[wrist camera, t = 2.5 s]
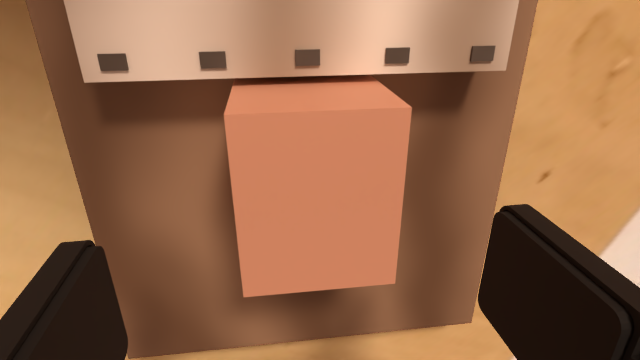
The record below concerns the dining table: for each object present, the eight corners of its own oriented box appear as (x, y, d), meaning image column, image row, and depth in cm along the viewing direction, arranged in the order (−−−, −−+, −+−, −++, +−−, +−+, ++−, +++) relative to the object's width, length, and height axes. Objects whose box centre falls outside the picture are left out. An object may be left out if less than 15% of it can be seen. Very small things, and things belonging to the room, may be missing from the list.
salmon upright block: (368, 73, 15) (411, 107, 11) (361, 210, 18) (395, 283, 13) (235, 77, 15) (224, 114, 10) (248, 218, 17) (243, 297, 13)
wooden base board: (553, -252, 14) (660, -340, 10) (455, 297, 24) (490, 353, 20) (-22, -293, 12) (-153, -423, 8) (139, 328, 22) (114, 396, 18)
